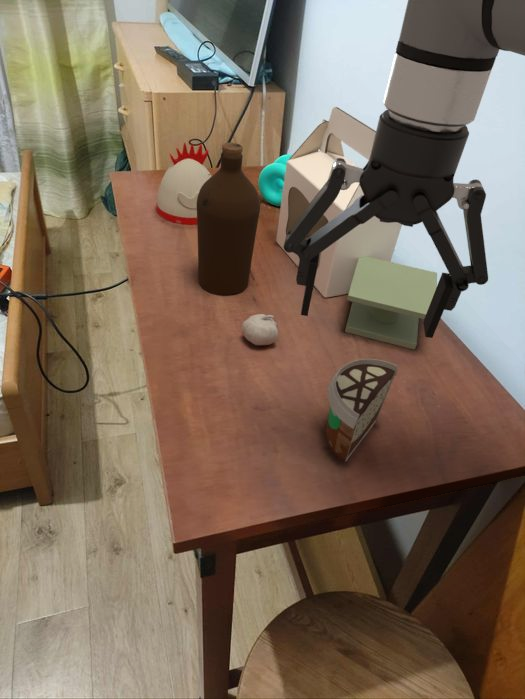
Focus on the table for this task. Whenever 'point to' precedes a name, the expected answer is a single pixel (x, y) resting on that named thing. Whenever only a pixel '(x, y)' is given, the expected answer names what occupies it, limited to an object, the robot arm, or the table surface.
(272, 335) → the garlic
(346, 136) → the gable box
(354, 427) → the food container
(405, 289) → the stand
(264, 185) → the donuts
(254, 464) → the table surface
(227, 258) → the olive oil
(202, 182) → the kitchen timer
